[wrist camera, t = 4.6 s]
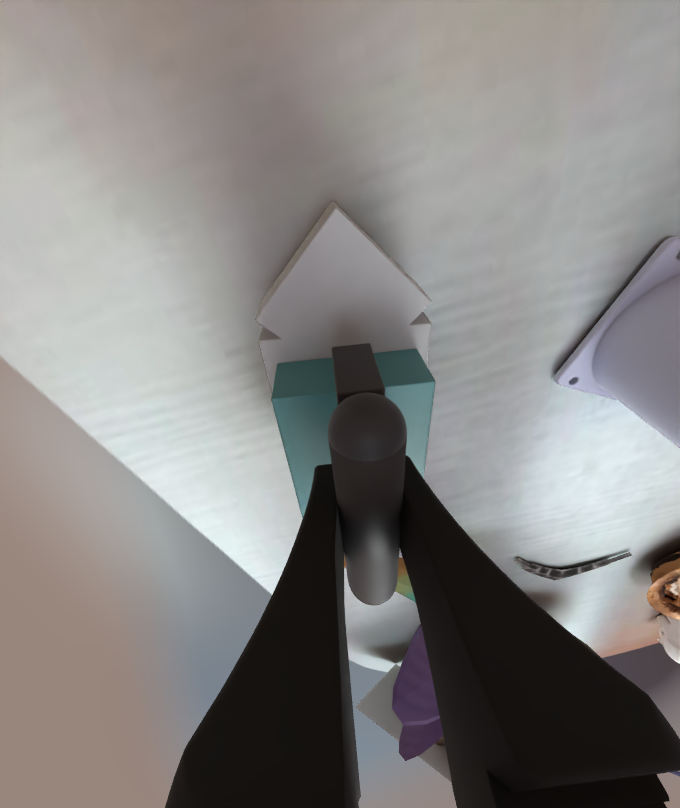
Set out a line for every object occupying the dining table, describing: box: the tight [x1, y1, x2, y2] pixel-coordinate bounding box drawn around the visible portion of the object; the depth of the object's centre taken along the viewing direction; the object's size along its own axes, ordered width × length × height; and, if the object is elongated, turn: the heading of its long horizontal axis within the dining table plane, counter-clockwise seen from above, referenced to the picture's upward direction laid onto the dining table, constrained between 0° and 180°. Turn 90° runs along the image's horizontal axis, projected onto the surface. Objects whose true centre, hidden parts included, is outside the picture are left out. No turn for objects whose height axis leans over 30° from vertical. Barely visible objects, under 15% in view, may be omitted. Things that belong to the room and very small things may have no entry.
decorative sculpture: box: [344, 556, 680, 776], centre depth 23 cm, size 17×18×15 cm
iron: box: [255, 201, 435, 605], centre depth 12 cm, size 13×7×9 cm, turn 5°
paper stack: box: [356, 664, 452, 782], centre depth 43 cm, size 23×25×1 cm
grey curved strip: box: [515, 552, 632, 580], centre depth 34 cm, size 13×1×5 cm
